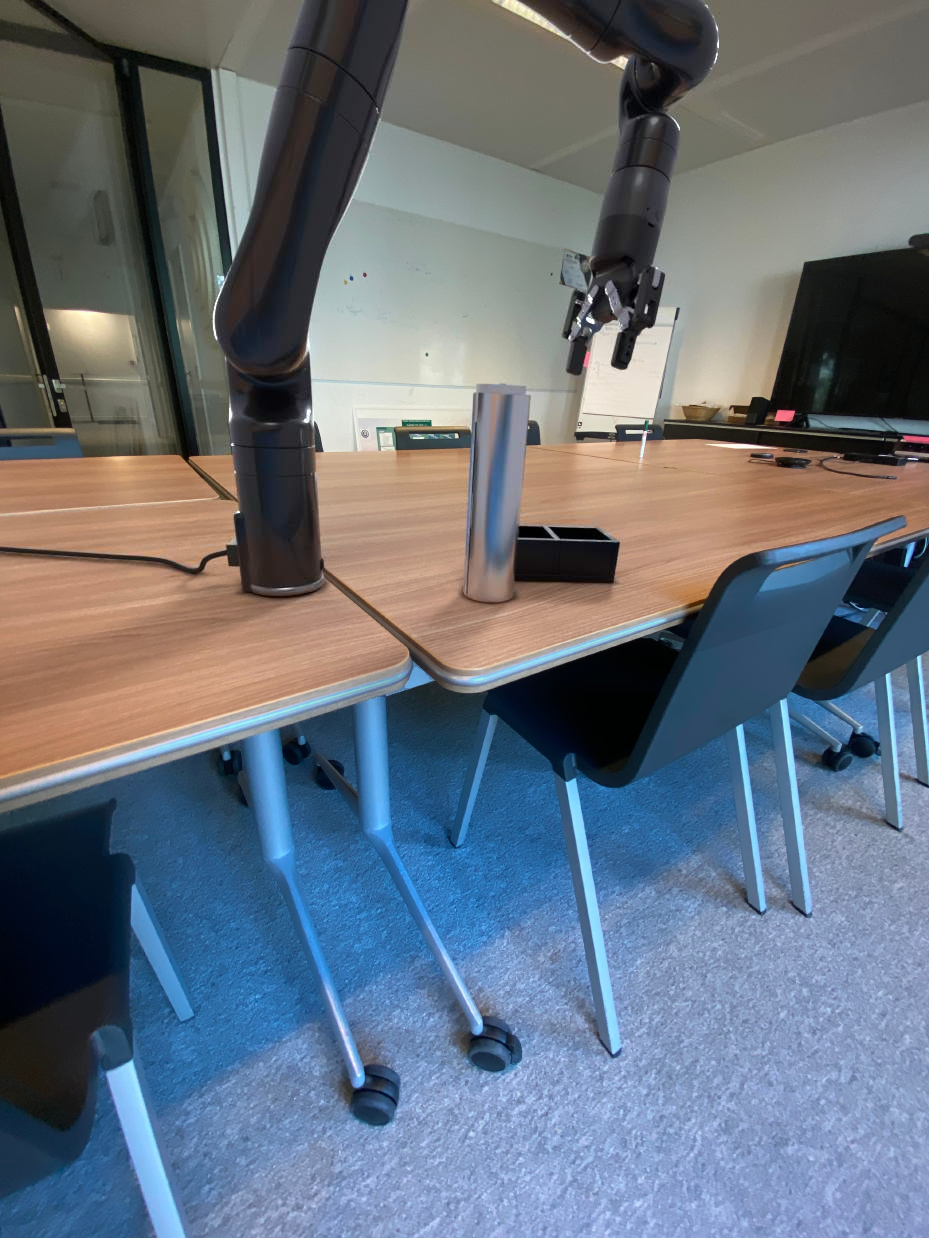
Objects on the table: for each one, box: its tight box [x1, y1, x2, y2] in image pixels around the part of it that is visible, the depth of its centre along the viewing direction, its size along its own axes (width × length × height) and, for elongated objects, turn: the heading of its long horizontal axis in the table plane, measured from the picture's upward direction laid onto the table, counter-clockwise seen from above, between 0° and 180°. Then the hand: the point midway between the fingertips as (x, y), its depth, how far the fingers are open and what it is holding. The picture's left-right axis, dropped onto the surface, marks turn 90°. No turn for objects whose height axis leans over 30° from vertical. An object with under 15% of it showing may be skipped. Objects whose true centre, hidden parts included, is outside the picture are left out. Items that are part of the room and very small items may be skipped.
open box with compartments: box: [514, 524, 621, 584], centre depth 78 cm, size 17×9×6 cm, turn 95°
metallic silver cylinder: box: [462, 382, 532, 604], centre depth 64 cm, size 6×6×25 cm
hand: (594, 371), depth 67 cm, fingers open, 8 cm apart
